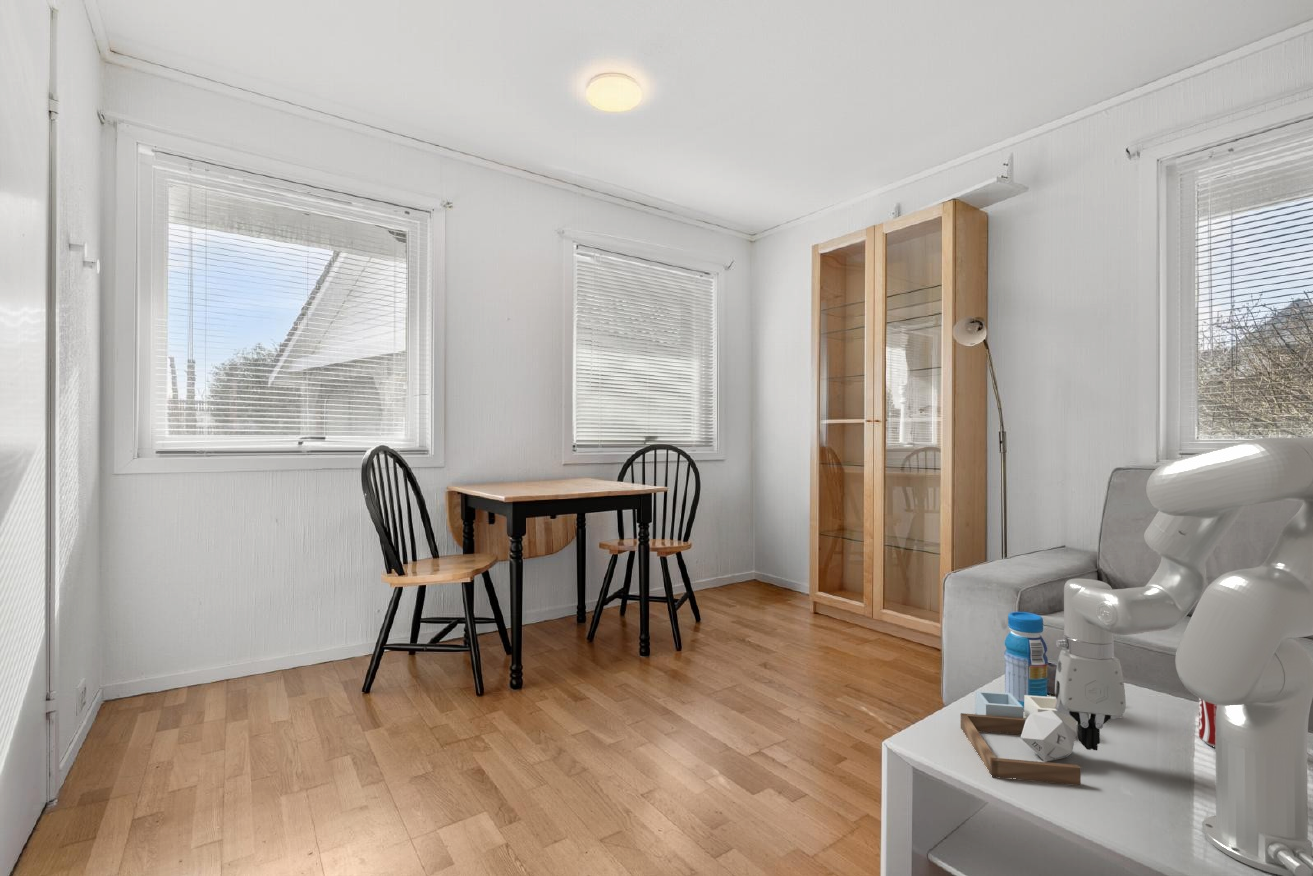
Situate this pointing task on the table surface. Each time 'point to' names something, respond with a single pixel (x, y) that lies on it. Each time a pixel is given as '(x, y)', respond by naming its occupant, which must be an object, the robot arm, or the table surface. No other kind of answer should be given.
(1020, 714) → the greyblue cup
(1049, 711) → the die
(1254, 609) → the robot arm
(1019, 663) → the beverage bottle
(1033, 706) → the offwhite cup
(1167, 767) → the table surface
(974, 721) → the walnut bay
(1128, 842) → the table surface
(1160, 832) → the table surface
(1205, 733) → the soda can
